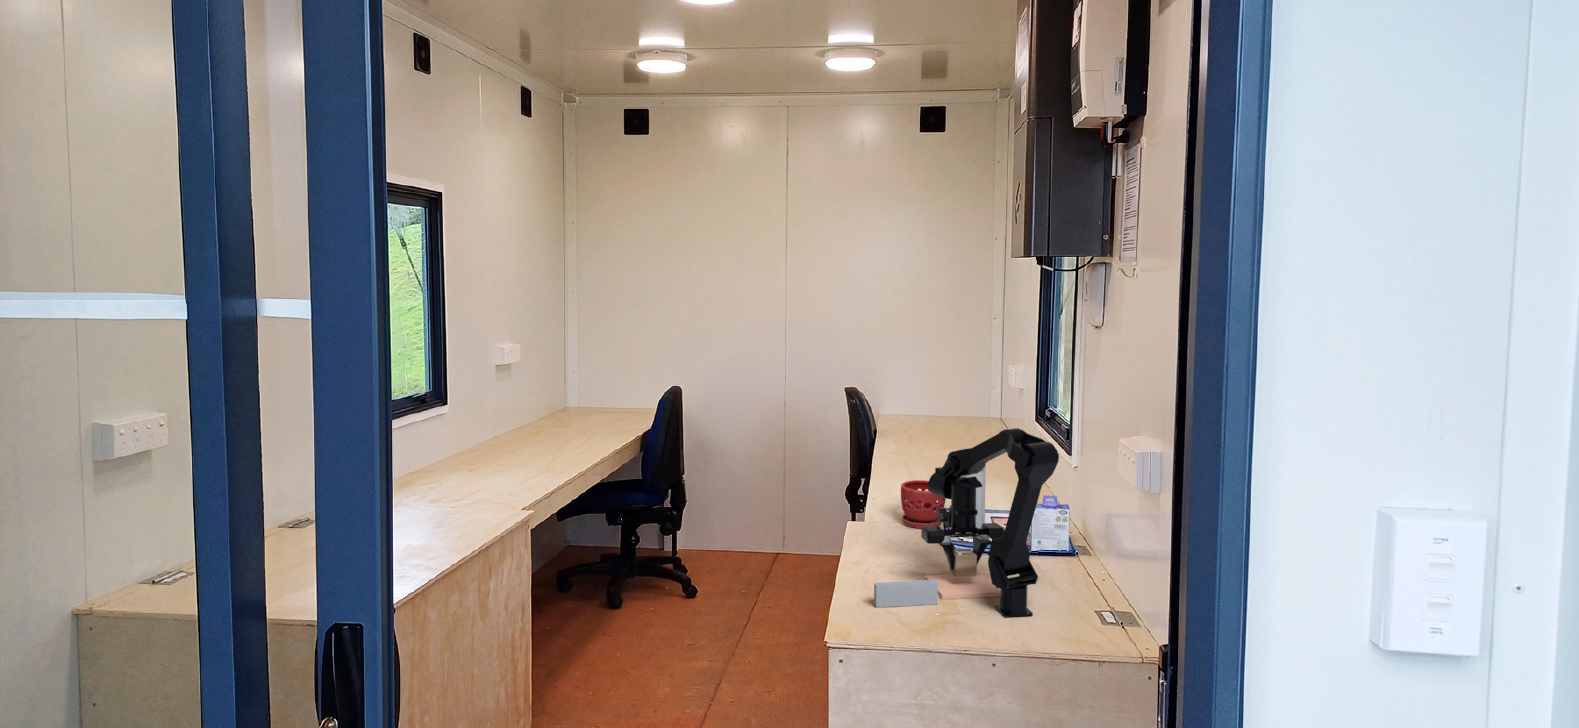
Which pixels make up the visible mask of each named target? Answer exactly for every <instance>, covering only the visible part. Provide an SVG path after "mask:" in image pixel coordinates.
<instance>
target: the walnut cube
mask: <svg viewBox="0 0 1579 728" xmlns="http://www.w3.org/2000/svg"><path fill="white" fill-rule="evenodd" d="M977 566H978V564H977V555H976V554H975V553H974V552H973V549H971V548H962V549H961V548H959V549H957V548H956V549H954V568H953V570H951V569H950V566H948V571H949V572H950V574H953V575H954V576H955V577H967V576H977V573H978V572H977V571H978V569H977V568H978V567H977Z"/></svg>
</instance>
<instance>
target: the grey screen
mask: <svg viewBox="0 0 1579 728" xmlns="http://www.w3.org/2000/svg"><path fill="white" fill-rule="evenodd" d="M938 597H939V595H938V582H937V581H936V580H925V579H924V580H910V581H909V580H908V581H905V580H904V581H887V582H884V581H883V582H874V583H873V598H874V599H873V605H874V604H875V605H874V607H875V606H876V607H875V609H877V608H878V607H879V609H881V608H880V607H884V608H893V607H892V606H902V607H917V605H920V606H932V605H933V606H936V605H938ZM935 604H936V605H935ZM890 606H891V607H890Z"/></svg>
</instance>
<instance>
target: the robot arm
mask: <svg viewBox="0 0 1579 728" xmlns="http://www.w3.org/2000/svg"><path fill="white" fill-rule="evenodd" d="M968 448H969V449H965V448H962V449H963V450H961V449H958V450H954V451H950V452H949V453H948V454H947V458H946V460H945V461H944V464H943V466H940V467H935V468H934V473H933V474H932V475H930V478H929V479H928V481H929V482H928V488H929V490H930V492H931V493H933V494H935V495H938V496H941V497H944V498H946V500H950V504H949V508H948V509H949V511H947V509H946V508H945V507H944V508H941V509H937V522H942V523H944V527H947V528H949V529H942V527H940V525H939V526H938V525H937V526H924V527H923V528H921V531H920V532H921V538H922V539H923V540H924V542H926V543H927V544H929V545H931V544H933V545H934V544H938V545H939V546H940V547H942V549H943V551H944V553H945V556H946V559H947V562H948V565H949V566H950V569H951V570H953V568H954V550H955V549H954V547H955V544H954V543H953V542H952V538H959V537H973V543H972V544H973V546H972V547H973V548H972V551H973V552H974V553H975V554H976V555H977V565H979V562H980V560H981V558H982V556H983V554H984V552H985V551H986V549H987V548H988V546H989V545H990V547H989V550H988V552H987V556H988V559H987V565H988V571H989V576H990V579H991V580H990V581H991V582H992V584H993V585H995V586H996V588H998V589H999V590H1000V596H999V598H1000V601H999V603H1000V604H995V605H994V608H995V609H996V610H997V611H998V612H999V614H1001V616H1003V617H1004V618H1012V617H1013V618H1014V617H1032V616H1033V615H1034V613H1033V611H1032V610H1030V609H1029V608H1028V586H1031V585H1036V584H1037V581H1038V579H1039V576H1038V573H1037V572H1036V570H1035V568H1034V566H1033V565H1032V563H1031V561H1030V555H1031V550H1030V549H1029V547H1028V543H1027V540H1028V537H1029V534H1030V531H1031V523H1032V519H1033V516H1034V512H1035V509H1036V505H1037V504H1038V501H1039V497H1040V495H1041V491H1042V487H1043V485H1044V484H1045V483H1046V482H1047V481H1048V480H1049V478H1050V477H1052V475H1053V474H1054V473H1055V470H1056V468H1057V466H1058V463H1059V460H1060V454H1059V452H1058V450H1057V448H1056V447H1055V445H1054V444H1053V443H1051V442H1049V441H1046V440H1044V439H1043V438H1041V437H1038V436H1035V435H1032V434H1030V433H1027V432H1026V431H1025V430H1024V429H1021V428H1017V427H1016V428H1008V429H1007V428H1006V429H1002V430H1001V431H1000V432H999V433H997V434H995V435H993V436H991V437H990V438H988V439H986V440H984V441H982V442H980V443H978V444H977V445H974V446H972V447H968ZM1004 454H1007V457H1008V458H1009V459H1010V460H1011V461H1013V462H1014V470H1015V473H1016V476H1017V479H1018V480H1017V484H1016V488H1015V492H1014V495H1013V499H1012V502H1011V506H1010V510H1009V514H1008V518H1007V520H1006V524H1005V528H1004V527H1003V526H1002V525H1000V524H998V523H997V522H988V523H986V522H985V523H983V524H982V526H981V528H977V527H976V515H977V512H978V510H976V488H979V487H982V484H981V482H980V481H978V479H977V478H976V477H968V478H967V477H961V476H966V475H971V474H977V473H978V472H980V471H981V470H982V469H983V468H984V467H985V465H986V464H987V463H988V462H990V461H992V460H993V459H996V458H997V457H1000V456H1002V455H1004ZM986 466H987V465H986ZM970 532H971V533H970ZM990 539H991V540H990ZM949 566H948V567H949ZM1014 575H1017V576H1014ZM1009 576H1012V577H1009Z"/></svg>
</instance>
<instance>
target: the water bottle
mask: <svg viewBox="0 0 1579 728" xmlns="http://www.w3.org/2000/svg"><path fill="white" fill-rule="evenodd" d="M969 448H970V447H967V448H966V447H965V448H962V449H960V450H963V449H969ZM986 469H987V465H985V467H984V468H983V469H982V470H981V471H980V472H978V473H977V474H971V475H966V476H961V477H967V478H968V477H976V478H977V479H978V481H980V482H981V484H982V487H979V488H976V510H978V512H977V515H976V527H977V528H981V526H982V524H983V523H986ZM970 533H971V532H970ZM963 538H967V539H973V537H963Z"/></svg>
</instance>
